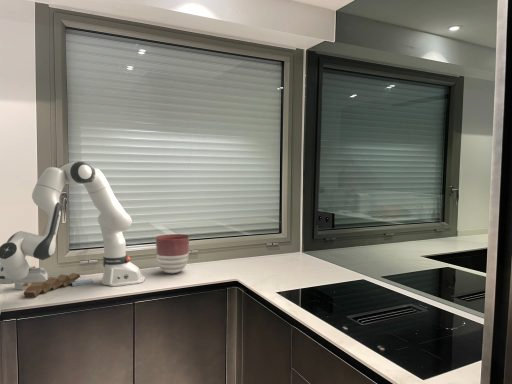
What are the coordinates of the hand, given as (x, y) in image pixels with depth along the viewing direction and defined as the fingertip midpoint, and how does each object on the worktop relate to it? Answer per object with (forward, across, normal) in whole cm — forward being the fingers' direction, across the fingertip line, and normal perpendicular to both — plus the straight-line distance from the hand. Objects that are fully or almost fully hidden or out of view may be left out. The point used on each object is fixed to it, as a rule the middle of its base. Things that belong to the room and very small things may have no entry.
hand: (26, 284), depth 174 cm
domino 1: (+4, -1, +3) cm, 5 cm away
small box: (+19, +7, -9) cm, 22 cm away
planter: (+27, -68, -18) cm, 75 cm away
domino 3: (+13, -7, -5) cm, 15 cm away
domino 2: (+9, -4, -1) cm, 10 cm away
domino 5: (+17, -16, -8) cm, 25 cm away
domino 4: (+16, -11, -8) cm, 21 cm away
